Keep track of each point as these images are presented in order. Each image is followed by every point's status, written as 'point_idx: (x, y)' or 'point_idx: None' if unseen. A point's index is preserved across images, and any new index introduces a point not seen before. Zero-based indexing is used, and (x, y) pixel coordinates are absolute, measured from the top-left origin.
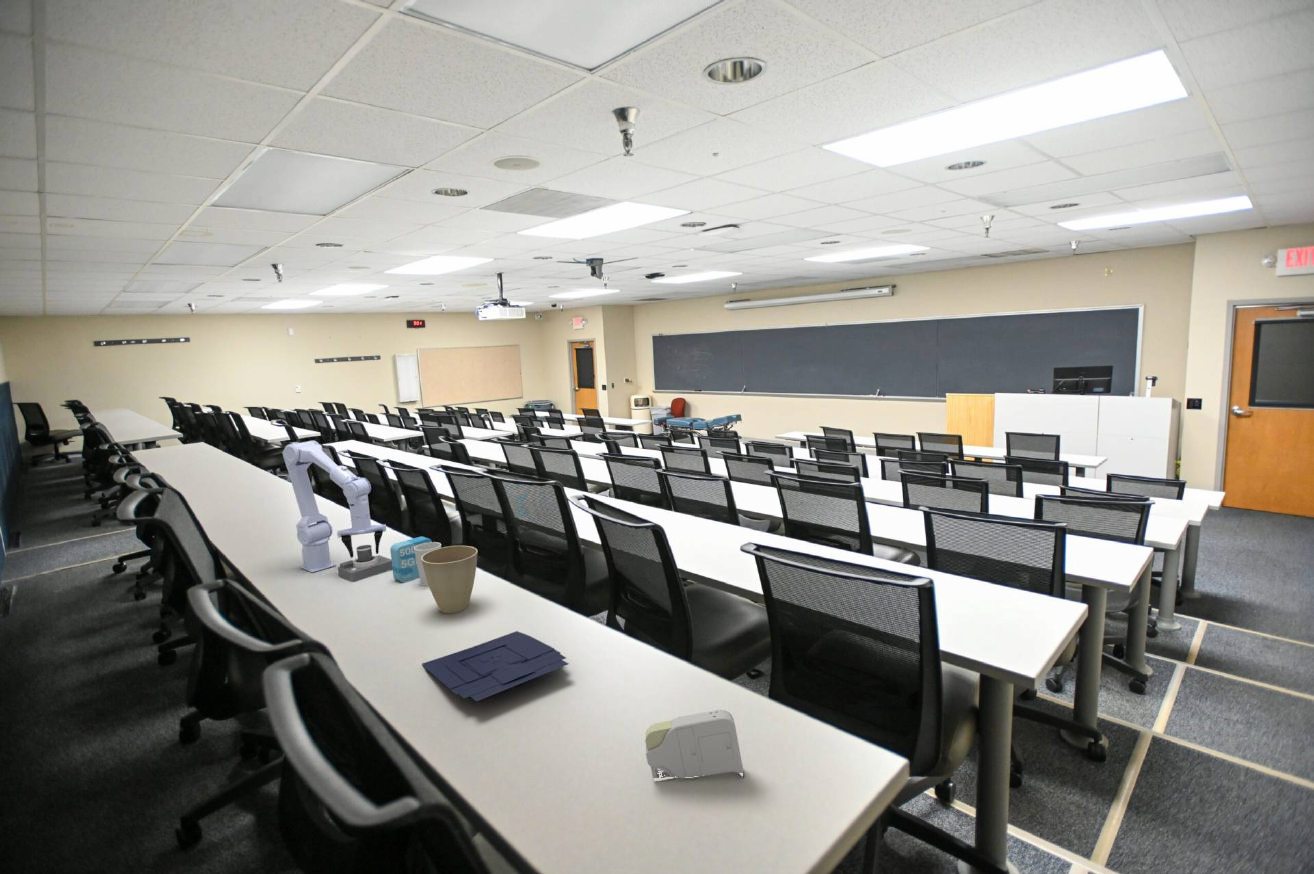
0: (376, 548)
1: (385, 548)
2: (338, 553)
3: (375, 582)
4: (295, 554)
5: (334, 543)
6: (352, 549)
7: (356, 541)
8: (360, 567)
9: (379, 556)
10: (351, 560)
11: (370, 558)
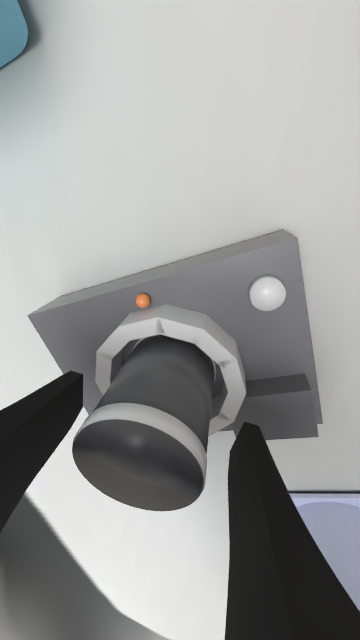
0: (43, 397)
1: (102, 511)
2: None
3: (161, 100)
4: None
5: (222, 613)
6: (232, 504)
7: (171, 590)
8: (213, 319)
9: None
10: None
11: (132, 355)
